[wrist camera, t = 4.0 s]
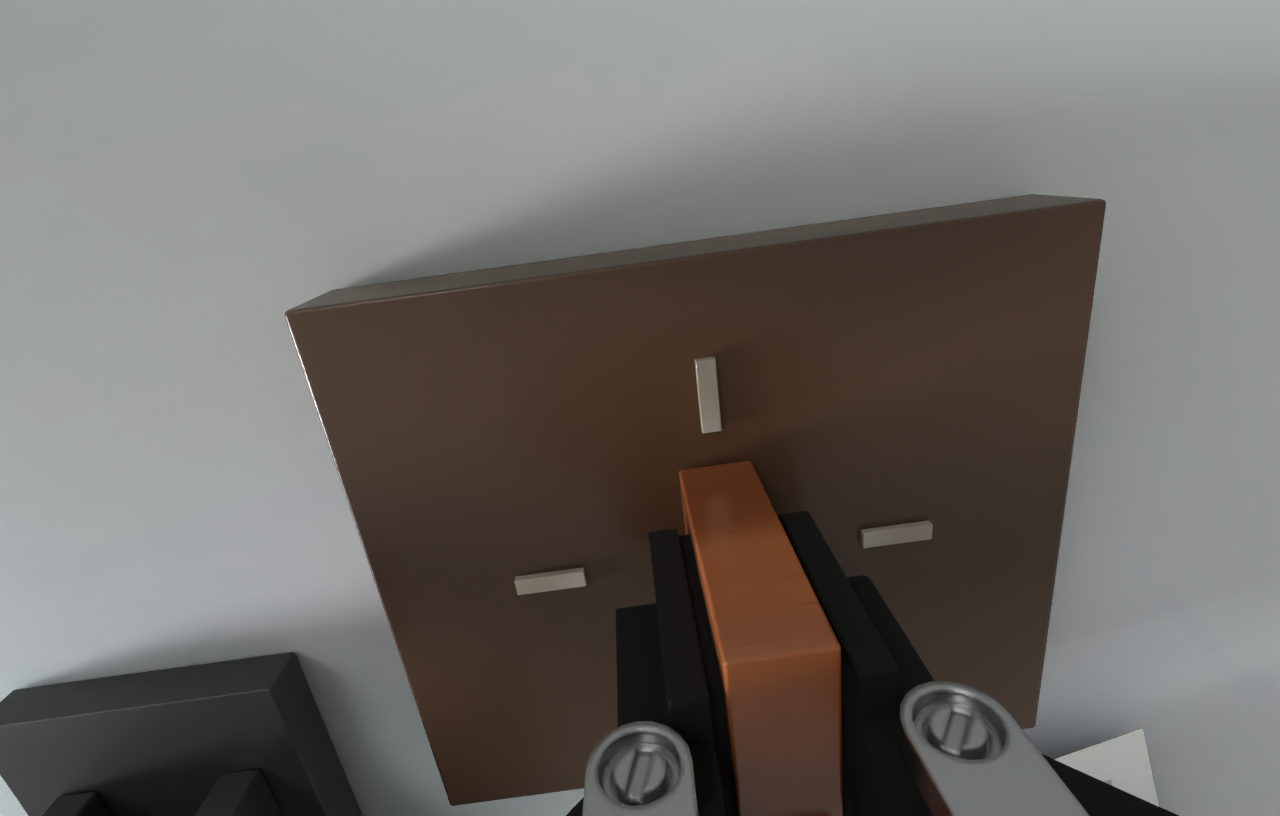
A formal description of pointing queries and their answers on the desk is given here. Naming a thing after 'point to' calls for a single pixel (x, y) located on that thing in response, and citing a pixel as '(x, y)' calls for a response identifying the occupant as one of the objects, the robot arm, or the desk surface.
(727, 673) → the knob
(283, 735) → the lever bracket
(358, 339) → the browning dial
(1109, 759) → the touchpad
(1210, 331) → the desk surface
